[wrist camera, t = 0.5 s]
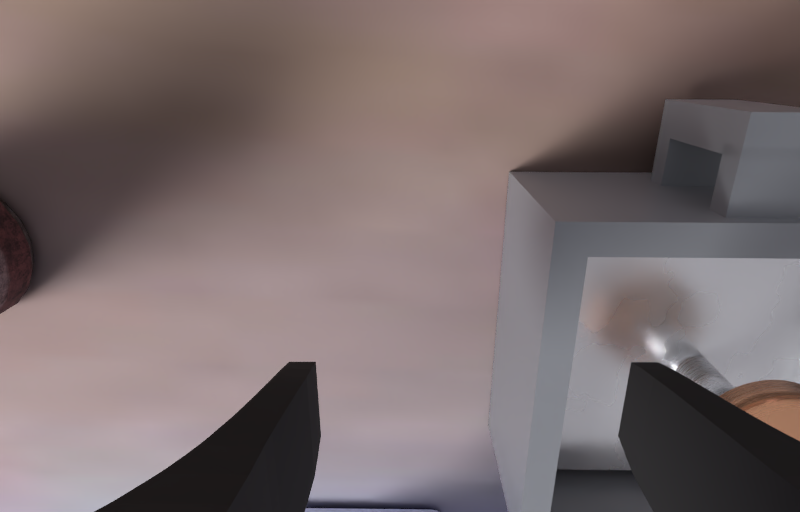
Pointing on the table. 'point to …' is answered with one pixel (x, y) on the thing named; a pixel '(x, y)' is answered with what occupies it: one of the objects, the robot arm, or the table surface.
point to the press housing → (623, 237)
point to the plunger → (682, 342)
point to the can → (13, 258)
